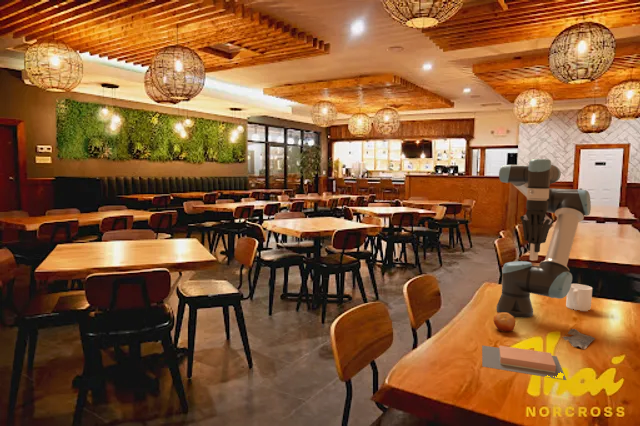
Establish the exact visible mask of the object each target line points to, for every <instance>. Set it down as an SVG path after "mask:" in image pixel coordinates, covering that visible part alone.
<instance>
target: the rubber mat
mask: <svg viewBox="0 0 640 426" xmlns="http://www.w3.org/2000/svg"><path fill="white" fill-rule="evenodd" d="M481 348H482V349H481V351H482V353H481V356H482V357H481V360H482V361H481V362H482V365H481V366H482V367H483V368H489V369H496V370H502V371H508V372H514V373H520V374H526V375H532V376H538V377H545V376H547V375H548V376H550V377H551V378H550V377H549V378H550V379H556V378H555V376H556V377H557V375H558V373H560V372H561V373H563V374H564V376H563V381H567V377H566V375H565V373H564V370H563V368H562V366H561V363H560V361H559V358H558V356H557V355H552V357H553V360H554V362H555V365H556V369H555V373H553V372H547V371H540V370H534V369H528V368H521V367H515V366H509V365H502V364H500V357H499V347H494V346H490V345H489V346H488V345H481ZM553 376H554V377H553ZM545 378H546V377H545ZM557 380H559V379H558V378H557Z"/></svg>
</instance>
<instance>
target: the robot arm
mask: <svg viewBox="0 0 640 426" xmlns="http://www.w3.org/2000/svg"><path fill="white" fill-rule="evenodd" d="M528 163H529V164H503V165H501V166H500V167H499V172H498V178H499V181H500V182H501V183H506V184H509V183H510V184H511V185H513V187H515V188H516V189H517V190H518V191H519V192H520V193H521V194H523V196H525V198H526V203H525V205H526V206H525V209H526V212H525V214H524V215H521V216H520V217H519V218H520V220H521V223H522V231H523V237H524V241H525V242H528V251H529V261H519V260H518V261H509V262H505V263H504V264H503V267H502V268H503V269H502V272H501V273H502V278H501V279H502V281H501V294H500V297H499V299H498V302H497V304H496V312H497V313H501V312H507V313H509V314H510V315H512V316H513V317H514V318H519V319H520V318H521V319H526V318H527V319H528V318H532V317H533V316H534V308H533V305H532V301H531V294H533V295H537V296H541V297H542V296H543V297H547V298H550V299H560V300H561V299H564V298H565V297H567V294H568V292H569V290H570V288H571V284H572V282H573V274H572V273H571V272H570V268H569V267H568V262H569V258H570V256H571V255H570V254H571V250H572V247H573V244H574V240H575V236H576V234H577V233H576V232H577V229H578V225H579V223H580V222H582V221H583V220H584V218H585V217H587V216H589V215H590V214H591V210H592V209H591V208H592V207H591V203H592V202H591V196H590V193H589V191H588V190H586V189H579V188H577V189H570V188H550V185H552V184H554V183H556V182H558V181H559V180H560V178H561V173H562V172H561V169H560V168H559V167H558V166H557V165H554V164H552V160H551V159H549V158H548V159H547V158H533V159H530V160H529V162H528ZM548 213H551V214H554V215H555V217H556V220H555V224H554V227H553V232H552V235H551V239H550V242H549V244H548V245H549V246H548V247H547V252H546V255H545V258H544V260H541V261H540V262H539V265H538V267H536V266H533V263H532V262H530V261H534V262H535V261H538V259H539V253H540V251H541V244H544V243H546V241H547V238H548V236H549V235H548V234H549V232H550V228H551V225H552V224H553V222H554V219H553V218H550V217H549V216H548Z"/></svg>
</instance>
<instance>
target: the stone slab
mask: <svg viewBox="0 0 640 426" xmlns="http://www.w3.org/2000/svg"><path fill="white" fill-rule="evenodd" d="M567 334H568V335H571V336H568V335H567ZM566 335H567V336H566ZM561 338H563V340H564V341H568V342H569V344H570V345H571V346H572V347H578V348H581V350H583V351H585V350H586V349H587V348H588V347H589V345H591V343H592V342H593V341H594V340H596V337H594V336H591V335H587V334H584V333H581V332H579V330H577V329H576V328H570V330H568V332H567V333H566V334H565V335H564V336H563V337H561Z"/></svg>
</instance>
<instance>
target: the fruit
mask: <svg viewBox="0 0 640 426" xmlns="http://www.w3.org/2000/svg"><path fill="white" fill-rule="evenodd" d="M515 318H516V317H513V316H512V315H510V314H509V313H507V312H501V313H499V312H497V314H495V315H494V317H493V323H494V325H495V327H496V329H497V330H498V331H500V332H505V333H506V332H509V333H511V332H513V331H514V330H515V327H516V319H515Z"/></svg>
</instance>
